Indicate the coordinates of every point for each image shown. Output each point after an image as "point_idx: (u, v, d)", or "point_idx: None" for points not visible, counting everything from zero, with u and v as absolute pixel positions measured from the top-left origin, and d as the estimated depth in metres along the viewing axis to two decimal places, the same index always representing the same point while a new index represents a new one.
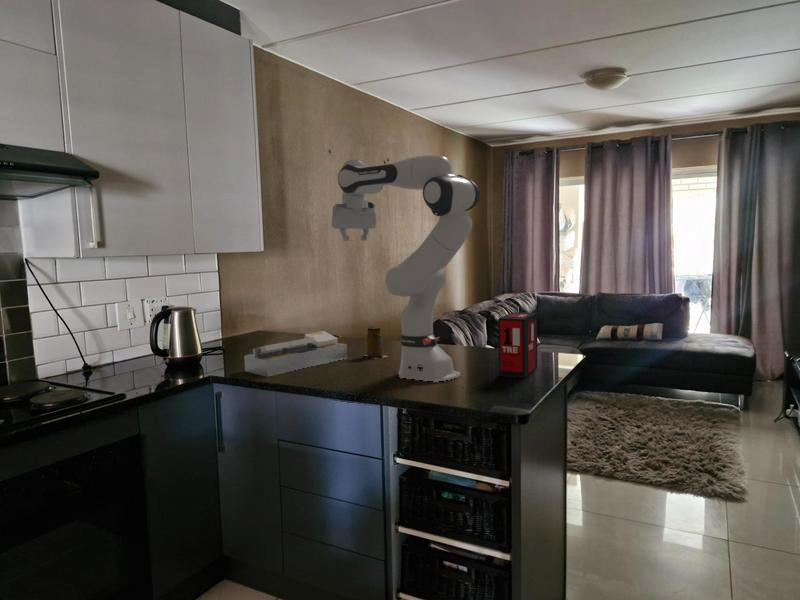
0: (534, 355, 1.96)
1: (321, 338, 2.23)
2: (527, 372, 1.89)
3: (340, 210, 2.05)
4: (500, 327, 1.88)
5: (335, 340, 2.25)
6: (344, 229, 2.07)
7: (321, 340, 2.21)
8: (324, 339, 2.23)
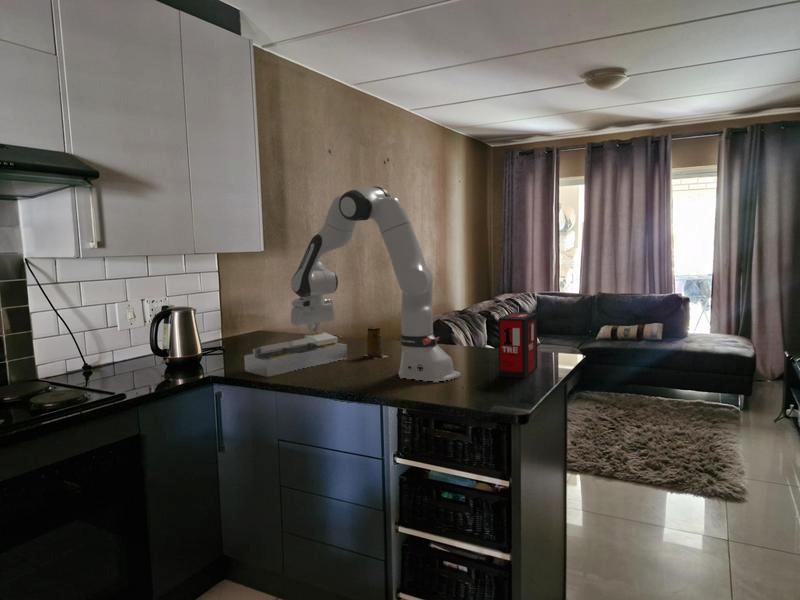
0: (534, 355, 1.96)
1: (321, 338, 2.23)
2: (527, 372, 1.89)
3: None
4: (500, 327, 1.88)
5: (335, 339, 2.25)
6: None
7: (321, 339, 2.21)
8: (323, 338, 2.23)
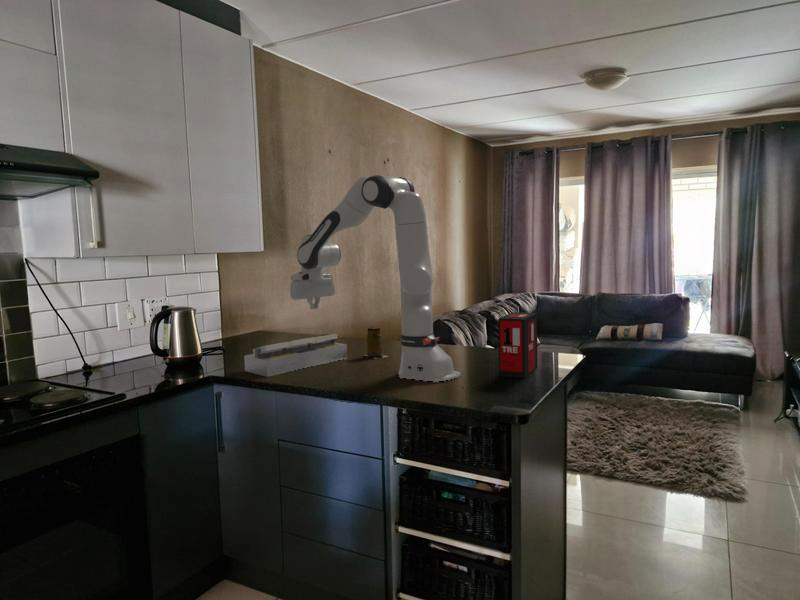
0: (534, 355, 1.96)
1: None
2: (527, 372, 1.89)
3: None
4: (500, 327, 1.88)
5: (335, 335, 2.25)
6: None
7: (320, 336, 2.21)
8: None
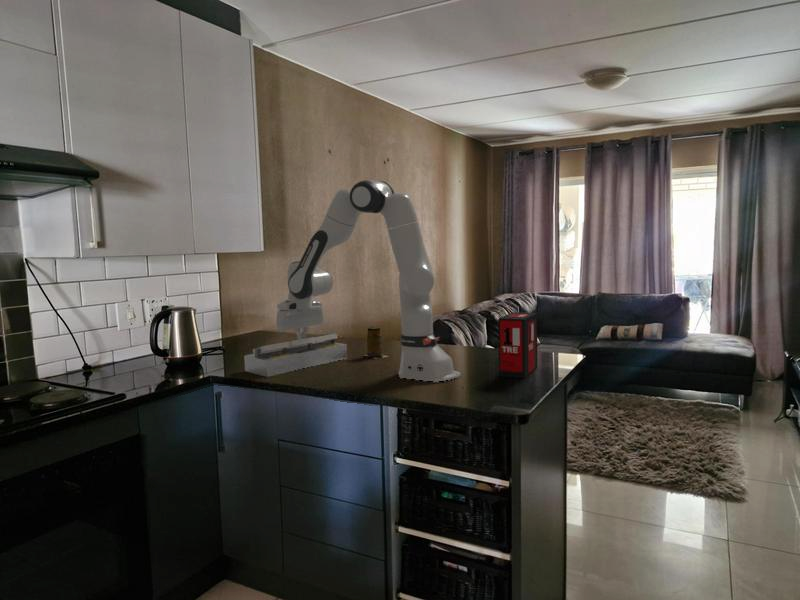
0: (534, 355, 1.96)
1: None
2: (527, 372, 1.89)
3: None
4: (500, 327, 1.88)
5: (335, 335, 2.25)
6: None
7: (320, 336, 2.21)
8: None
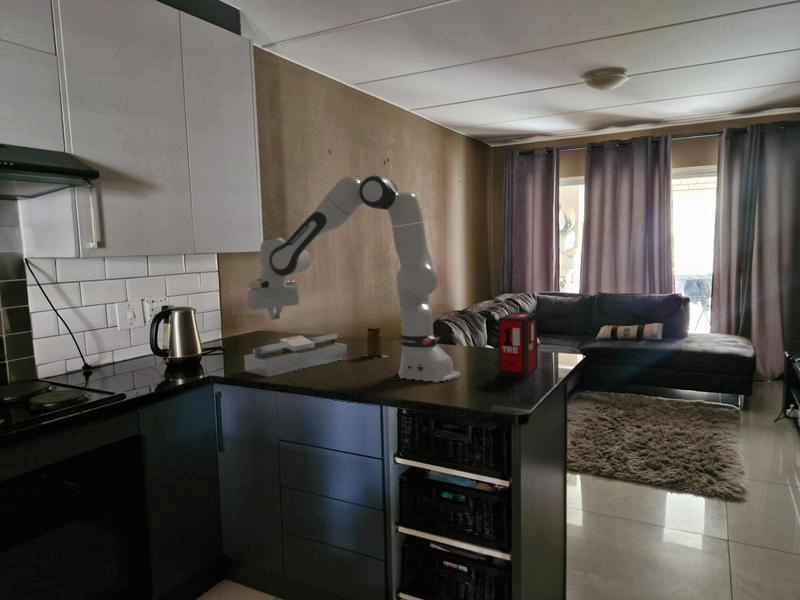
0: (534, 355, 1.96)
1: None
2: (527, 372, 1.89)
3: None
4: (500, 327, 1.88)
5: (335, 335, 2.25)
6: None
7: (320, 336, 2.21)
8: None
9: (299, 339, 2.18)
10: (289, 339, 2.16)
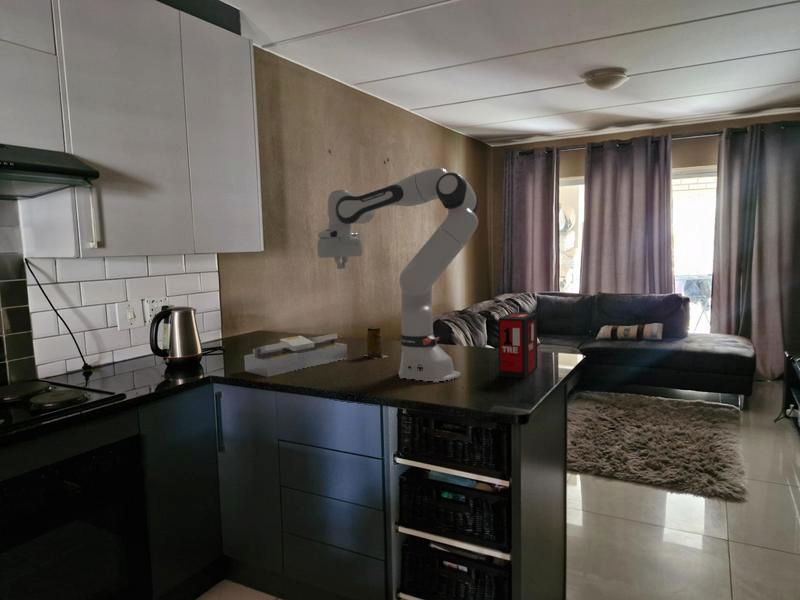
0: (534, 355, 1.96)
1: None
2: (527, 372, 1.89)
3: None
4: (500, 327, 1.88)
5: (335, 335, 2.25)
6: None
7: (320, 336, 2.21)
8: None
9: (299, 339, 2.18)
10: (289, 339, 2.16)
